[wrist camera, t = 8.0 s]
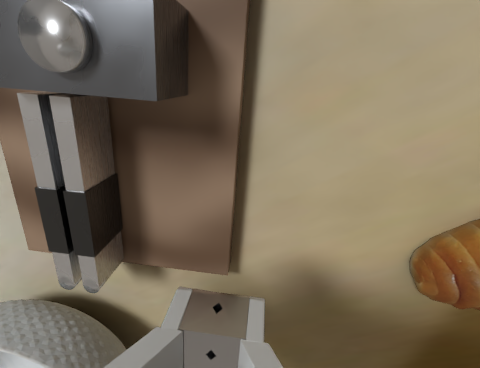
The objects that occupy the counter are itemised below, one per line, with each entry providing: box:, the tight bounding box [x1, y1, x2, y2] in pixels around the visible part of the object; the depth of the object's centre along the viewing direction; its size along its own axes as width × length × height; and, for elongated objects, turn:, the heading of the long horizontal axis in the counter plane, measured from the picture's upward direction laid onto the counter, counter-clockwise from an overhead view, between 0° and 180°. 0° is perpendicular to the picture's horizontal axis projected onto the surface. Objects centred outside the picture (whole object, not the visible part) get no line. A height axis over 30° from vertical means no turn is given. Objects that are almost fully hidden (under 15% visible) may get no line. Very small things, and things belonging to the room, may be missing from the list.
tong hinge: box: [0, 0, 188, 101], centre depth 12 cm, size 4×7×5 cm, turn 85°
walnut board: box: [0, 0, 250, 275], centre depth 17 cm, size 20×15×2 cm
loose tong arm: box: [49, 94, 124, 293], centre depth 16 cm, size 12×1×3 cm, turn 175°
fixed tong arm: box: [17, 91, 82, 290], centre depth 16 cm, size 12×1×3 cm, turn 175°
